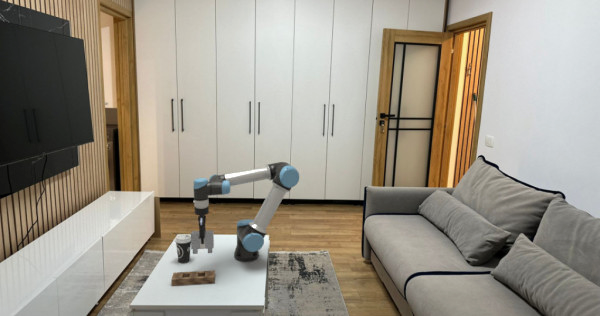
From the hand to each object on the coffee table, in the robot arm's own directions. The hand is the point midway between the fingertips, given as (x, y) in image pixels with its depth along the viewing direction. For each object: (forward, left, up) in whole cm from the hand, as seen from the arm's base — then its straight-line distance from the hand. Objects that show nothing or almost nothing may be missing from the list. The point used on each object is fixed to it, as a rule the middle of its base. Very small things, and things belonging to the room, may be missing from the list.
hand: (203, 246), depth 222 cm
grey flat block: (0, 0, -3) cm, 3 cm away
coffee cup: (+12, -16, -15) cm, 25 cm away
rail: (+4, +10, -15) cm, 19 cm away
